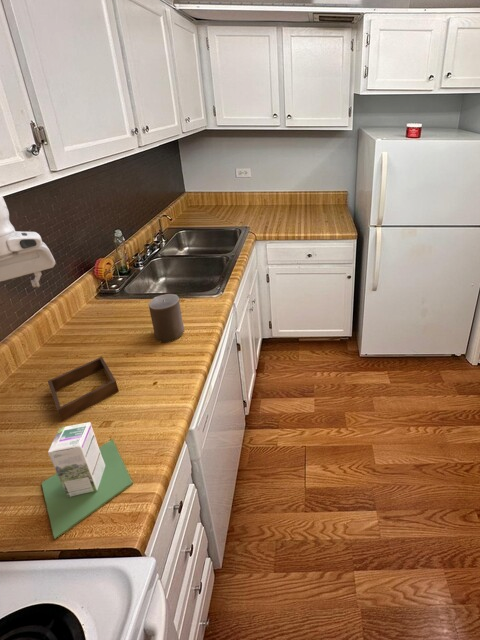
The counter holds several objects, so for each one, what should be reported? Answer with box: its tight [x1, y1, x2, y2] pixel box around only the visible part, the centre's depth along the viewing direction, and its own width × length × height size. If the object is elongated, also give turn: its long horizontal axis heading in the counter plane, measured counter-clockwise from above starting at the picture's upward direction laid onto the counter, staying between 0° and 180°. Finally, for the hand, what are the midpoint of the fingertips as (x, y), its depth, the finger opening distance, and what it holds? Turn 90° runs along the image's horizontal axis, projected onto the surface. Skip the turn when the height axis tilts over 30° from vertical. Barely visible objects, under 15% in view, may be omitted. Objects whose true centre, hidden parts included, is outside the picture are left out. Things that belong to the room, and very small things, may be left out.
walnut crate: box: [47, 356, 119, 422], centre depth 94 cm, size 14×14×4 cm
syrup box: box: [47, 421, 105, 498], centre depth 69 cm, size 6×6×14 cm
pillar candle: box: [148, 293, 185, 343], centre depth 116 cm, size 10×10×15 cm
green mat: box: [40, 439, 134, 540], centre depth 72 cm, size 14×14×1 cm
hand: (13, 293), depth 86 cm, fingers open, 8 cm apart
